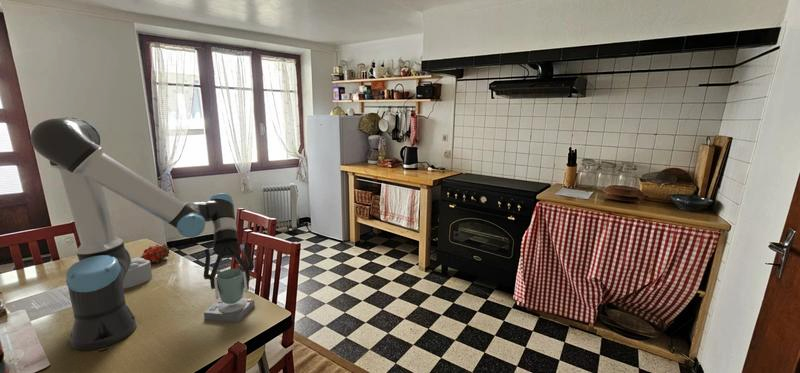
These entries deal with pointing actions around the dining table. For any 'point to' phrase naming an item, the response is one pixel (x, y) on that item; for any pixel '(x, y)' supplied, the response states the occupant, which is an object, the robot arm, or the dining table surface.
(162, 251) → the dragon fruit
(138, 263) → the white bumpy block
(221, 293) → the cup
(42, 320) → the dining table surface
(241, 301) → the soap dish with soap
